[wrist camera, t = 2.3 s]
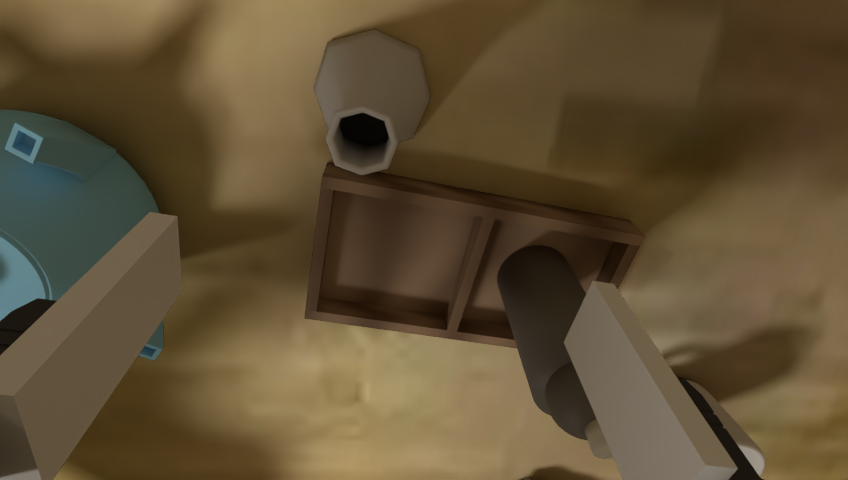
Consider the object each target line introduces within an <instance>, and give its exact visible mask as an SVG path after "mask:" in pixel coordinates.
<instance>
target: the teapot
mask: <svg viewBox="0 0 848 480" xmlns="http://www.w3.org/2000/svg"><path fill="white" fill-rule="evenodd" d="M149 212H154V213H159V210H158V206H157V204H156V202H155V200H154V198H153V196H152V194H151V192H150V190H149V189H148V187H147V186H146V184H145V182H144V181H143V180H142V179H141V177H140V176H139V175H138V173H137V172H136V171H135V170H134V169H133V168H132V167H131V166H130V165H129V163H128V162H127V161H126V160H125V159H123V158H122V157H121V156H120V155H119V154H118V153H116V149H115V148H113V147H111V146H109V145H108V144H106V143H104V142H102V141H101V140H99V139H98V138H96V137H94V136H92V135H91V134H89V133H87V132H85V131H84V130H82V129H80V128H78V127H76V126H74V125H73V124H71V123H69V122H67V121H62V120H59V119H56V118H53V117H50V116H46V115H42V114H38V113H33V112H26V111H18V110H0V321H1V320H2V319H3V318H4V317H6V316H7V315H8V314H9V313H10V312H11V311H13V310H15V309H17V308H19V307H21V306H23V305H25V304H27V303H29V302H31V301H33V300H35V299H37V298H39V299H47V300H55V301H58V300H59V299H60V298H61V297H62V296H63V295H64V294H65V293H66V292H67V291H68V290H69V289H70V288H71V287H72V286H73V285H74V284H75V283H76V282H77V281H78V280H79V279H81V278H82V277H83V276H84V275H85V274H86V273H87V272H88V271H89V270H90V269H91V268H92V267H93V266H94V265H95V264H96V263H97V262H98V261H99V260H100V259H101V258H102V257H103V256H104V255H106V254H107V253H108V252H109V251H110V250H111V249H112V248H113V247H114V246H115V245H116V244H117V243H118V242H119V241H120V240H121V239H122V238H123V237H124V236H125V235H126V234H127V233H128V232H130V231H131V230H132V229H133V228H134V227H135V226H136V225H137V224H138V223H139V222H140V221H141V220H142V219H143V218H144V217H145V216H146V215H147V214H148V213H149ZM163 347H164V328H163V320H162V321H161V323H160V324H159V326H158V327H157V329H156V330H155V332H154V333H153V334H152V336H151V337H150V339H149V340H148V342H147V343H146V345H145V346H144V348H143V349H142V351H141V352H140V353H139V355H138V356H141V357H144V358H147V359H150V360H153V361H155V360H156V358H157V357H158V355H159V354H160V352H161V351H162V349H163Z"/></svg>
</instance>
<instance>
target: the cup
mask: <svg viewBox="0 0 848 480" xmlns="http://www.w3.org/2000/svg"><path fill="white" fill-rule="evenodd" d="M684 380H685V379H684ZM686 381H687V382H689V383H690V384H691V385H692V386H693V387H694V388H695V389H696V390H697V391H698V392H699V393H701V394H702V395H703V397H704V398H705V400H706V401H707V403H708V404H709V405H710V407H711V408H712V410H713V411H714V412H713V413H714V415H717V417H718V418H719V420H720V421H721V422H722V424H723V428H726V430H727V431H728V432H729V434H730V435H731V437H732V438H733V439H734V441H735V442H736V444H737V445H738V447H739V448H740V449H741V451H742V452H743V454H744V455H745V456H746V458H747V459H748V461H749V462H750V464H751V465H752V466H753V468H754V469H755V471H756V472H757V474H758V475H759V476H761V474H762V472H763V470H764V468H765V457H764V454H763V452H762V450H761V449H760V448H759V447H758V446H757V445H756V443H755V442H754V441H753V440H752V439H751V438H750V437H749V436H748V435H747V434H746V433H745V431H744V430H743V429H742V428H741V427H740V426H739V425H738V424H737V423H736V422H735V421H734V419H733V418H732V417H731V416H730V415H729V414H728V413H727V412H726V411H725V410H724V408H723V407H722V406H721V405H720V404H719V403H718V402H717V401H716V400H715V399H714V398H713V397H712V395H711V394H710V393H709V392H708V391H707V390H705V389H704V388H703V387H702V386H700V385H699V384H697V383H695V382H693V381H690V380H686Z"/></svg>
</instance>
